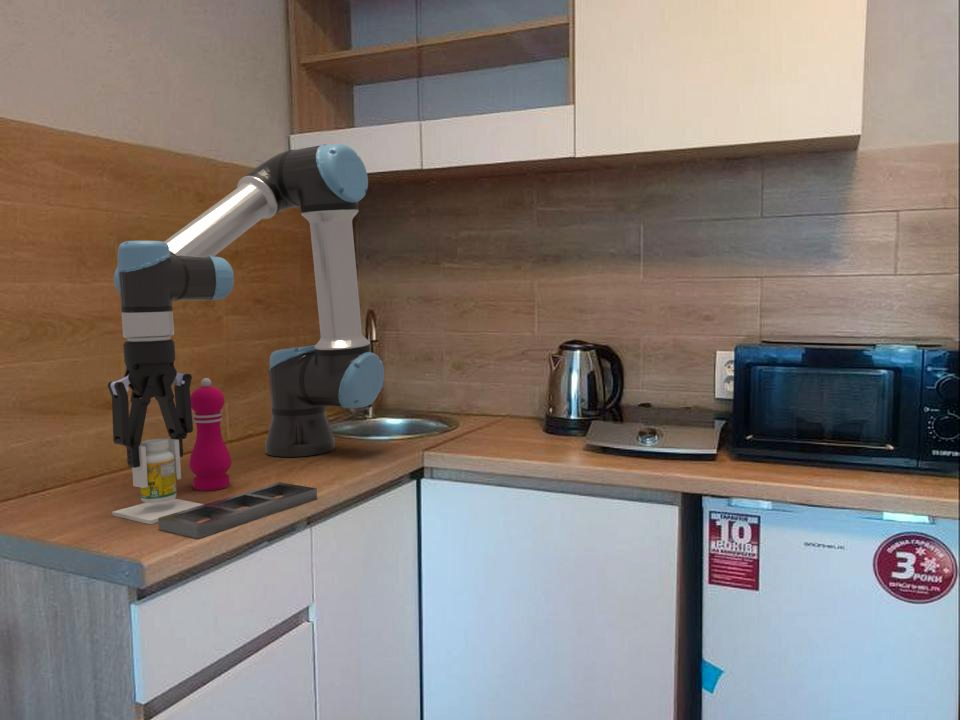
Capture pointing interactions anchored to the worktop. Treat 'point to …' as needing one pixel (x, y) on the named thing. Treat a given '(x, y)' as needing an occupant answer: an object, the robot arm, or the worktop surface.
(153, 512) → the white mat
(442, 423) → the worktop surface
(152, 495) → the supplement bottle
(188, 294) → the robot arm
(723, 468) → the worktop surface
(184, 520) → the rack frame
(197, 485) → the pepper mill
